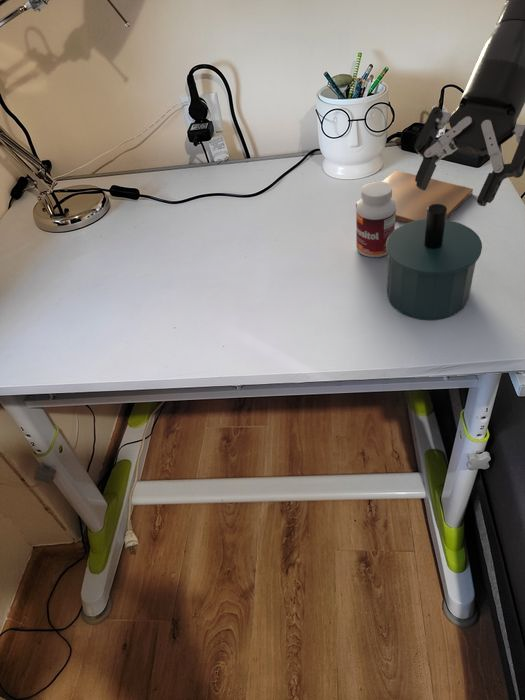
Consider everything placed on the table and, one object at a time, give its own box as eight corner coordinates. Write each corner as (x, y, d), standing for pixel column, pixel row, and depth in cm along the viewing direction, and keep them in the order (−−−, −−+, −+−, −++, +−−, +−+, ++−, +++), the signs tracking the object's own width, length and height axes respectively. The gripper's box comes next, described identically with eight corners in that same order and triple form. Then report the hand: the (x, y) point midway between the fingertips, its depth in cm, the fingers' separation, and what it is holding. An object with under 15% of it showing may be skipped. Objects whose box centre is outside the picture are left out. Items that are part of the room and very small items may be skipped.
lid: (497, 240, 70) (506, 197, 65) (452, 290, 64) (460, 247, 60) (414, 216, 77) (418, 176, 72) (368, 260, 71) (368, 219, 66)
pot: (482, 285, 76) (492, 237, 70) (443, 331, 71) (451, 283, 65) (412, 261, 82) (416, 215, 76) (372, 301, 77) (373, 255, 71)
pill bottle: (348, 250, 87) (347, 191, 79) (371, 233, 89) (373, 174, 81) (378, 263, 83) (379, 203, 75) (401, 245, 85) (405, 185, 78)
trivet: (472, 193, 93) (473, 188, 93) (434, 231, 87) (434, 226, 86) (395, 174, 102) (395, 170, 101) (355, 207, 95) (355, 203, 95)
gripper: (445, 51, 65) (392, 174, 68) (562, 62, 57) (497, 201, 60) (459, 80, 71) (410, 192, 74) (566, 94, 64) (507, 218, 67)
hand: (449, 196), depth 67 cm, fingers open, 8 cm apart
